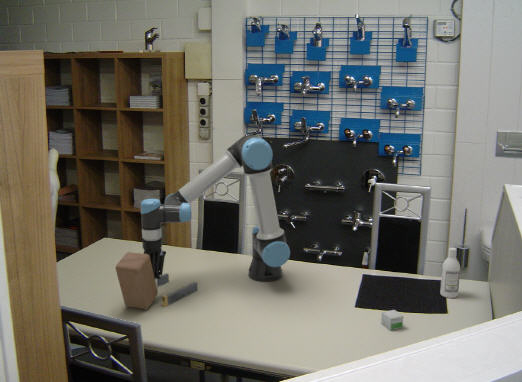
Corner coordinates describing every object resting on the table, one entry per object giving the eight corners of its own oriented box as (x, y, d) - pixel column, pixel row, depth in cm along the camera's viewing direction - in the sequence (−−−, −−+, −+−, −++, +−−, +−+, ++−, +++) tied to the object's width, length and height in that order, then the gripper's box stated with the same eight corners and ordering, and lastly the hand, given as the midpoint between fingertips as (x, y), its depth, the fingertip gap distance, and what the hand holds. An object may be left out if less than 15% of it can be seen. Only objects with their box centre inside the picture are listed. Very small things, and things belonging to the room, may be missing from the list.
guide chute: (197, 290, 228) (197, 281, 227) (165, 306, 213) (165, 297, 212) (166, 280, 238) (165, 272, 237) (133, 295, 223) (132, 286, 222)
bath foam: (461, 297, 221) (465, 250, 217) (447, 299, 219) (451, 252, 214) (450, 290, 228) (454, 245, 223) (436, 293, 225) (440, 247, 221)
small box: (390, 331, 193) (390, 318, 192) (380, 324, 199) (381, 311, 197) (403, 328, 196) (404, 315, 194) (393, 321, 201) (394, 309, 200)
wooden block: (147, 310, 209) (137, 269, 199) (124, 307, 212) (113, 266, 202) (158, 294, 217) (150, 253, 208) (136, 290, 220) (126, 250, 210)
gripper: (157, 232, 222) (159, 286, 228) (132, 240, 212) (136, 297, 217) (170, 235, 218) (172, 290, 223) (146, 244, 208) (149, 301, 213)
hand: (154, 293), depth 220 cm, fingers closed
